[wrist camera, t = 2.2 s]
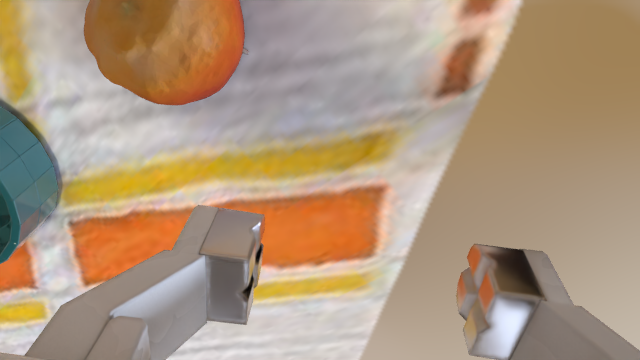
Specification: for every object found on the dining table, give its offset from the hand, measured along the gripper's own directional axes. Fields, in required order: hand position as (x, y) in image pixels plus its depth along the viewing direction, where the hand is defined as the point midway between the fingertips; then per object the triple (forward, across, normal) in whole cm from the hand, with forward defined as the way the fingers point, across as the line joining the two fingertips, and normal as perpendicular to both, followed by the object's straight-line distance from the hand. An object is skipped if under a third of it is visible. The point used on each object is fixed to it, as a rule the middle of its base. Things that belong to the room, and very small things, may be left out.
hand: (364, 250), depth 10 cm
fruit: (+19, +10, 0) cm, 22 cm away
